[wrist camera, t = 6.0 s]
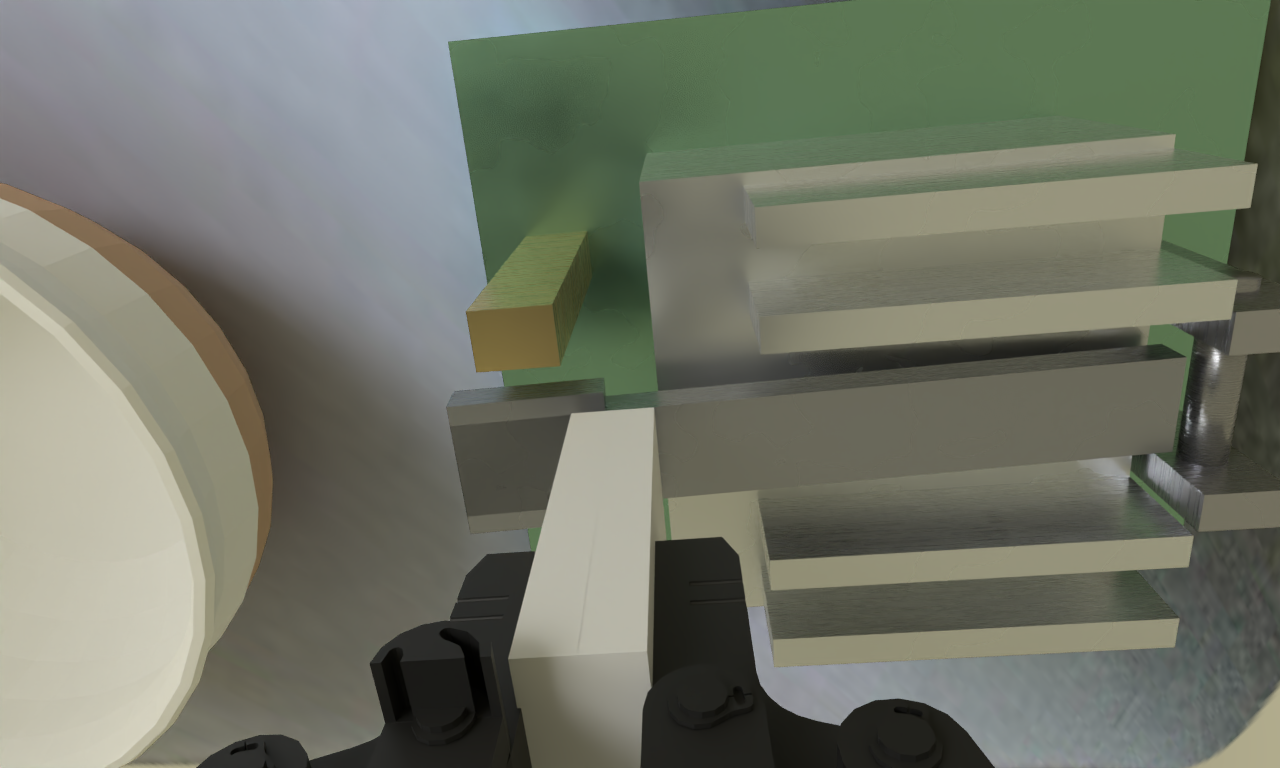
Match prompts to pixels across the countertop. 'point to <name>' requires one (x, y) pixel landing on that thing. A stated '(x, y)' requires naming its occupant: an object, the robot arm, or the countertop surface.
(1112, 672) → the countertop surface
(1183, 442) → the heatsink
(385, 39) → the countertop surface
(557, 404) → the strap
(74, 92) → the countertop surface
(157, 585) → the bowl
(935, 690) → the countertop surface
